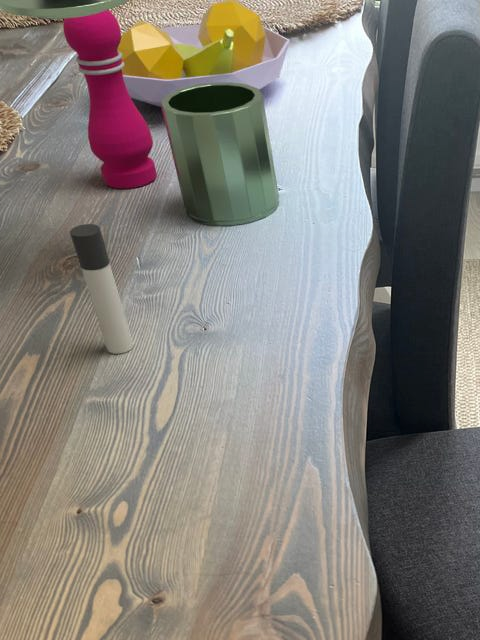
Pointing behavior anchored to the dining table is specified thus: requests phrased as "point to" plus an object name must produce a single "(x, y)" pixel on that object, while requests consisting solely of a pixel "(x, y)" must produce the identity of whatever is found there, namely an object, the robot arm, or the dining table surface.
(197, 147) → the canister
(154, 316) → the dining table surface
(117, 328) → the marker
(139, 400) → the dining table surface
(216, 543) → the dining table surface
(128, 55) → the fruit bowl
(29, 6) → the canister lid
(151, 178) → the pepper mill
